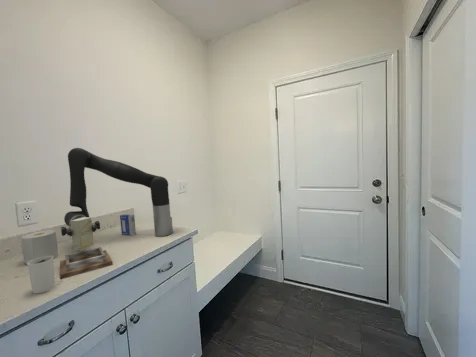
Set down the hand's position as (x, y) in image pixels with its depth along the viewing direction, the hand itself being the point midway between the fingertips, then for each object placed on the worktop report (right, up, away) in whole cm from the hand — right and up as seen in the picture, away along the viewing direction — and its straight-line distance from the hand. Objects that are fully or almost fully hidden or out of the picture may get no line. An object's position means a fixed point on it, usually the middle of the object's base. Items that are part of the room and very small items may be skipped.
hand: (82, 231), depth 93 cm
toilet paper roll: (-26, -15, +12) cm, 33 cm away
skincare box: (-1, -7, +2) cm, 8 cm away
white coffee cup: (-3, -16, -16) cm, 22 cm away
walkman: (-2, -12, +43) cm, 45 cm away
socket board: (0, -14, +3) cm, 15 cm away
